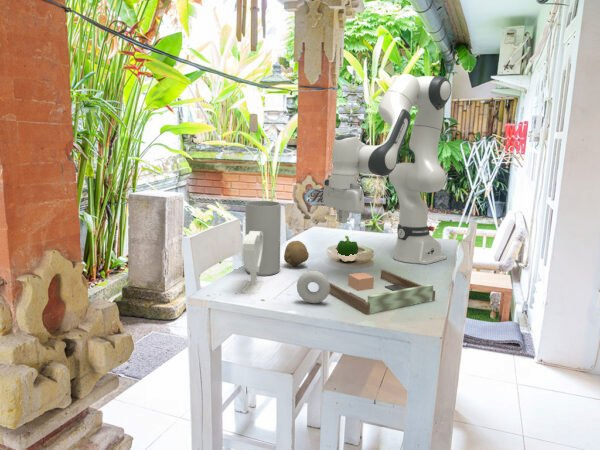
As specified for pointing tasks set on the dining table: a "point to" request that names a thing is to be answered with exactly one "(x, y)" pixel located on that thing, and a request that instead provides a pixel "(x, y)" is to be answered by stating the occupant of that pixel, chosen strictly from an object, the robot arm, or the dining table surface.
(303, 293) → the donut
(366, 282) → the terracotta block
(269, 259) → the cylinder vase
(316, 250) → the dining table surface
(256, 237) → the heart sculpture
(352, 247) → the bell pepper
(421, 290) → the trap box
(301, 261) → the natural sponge
